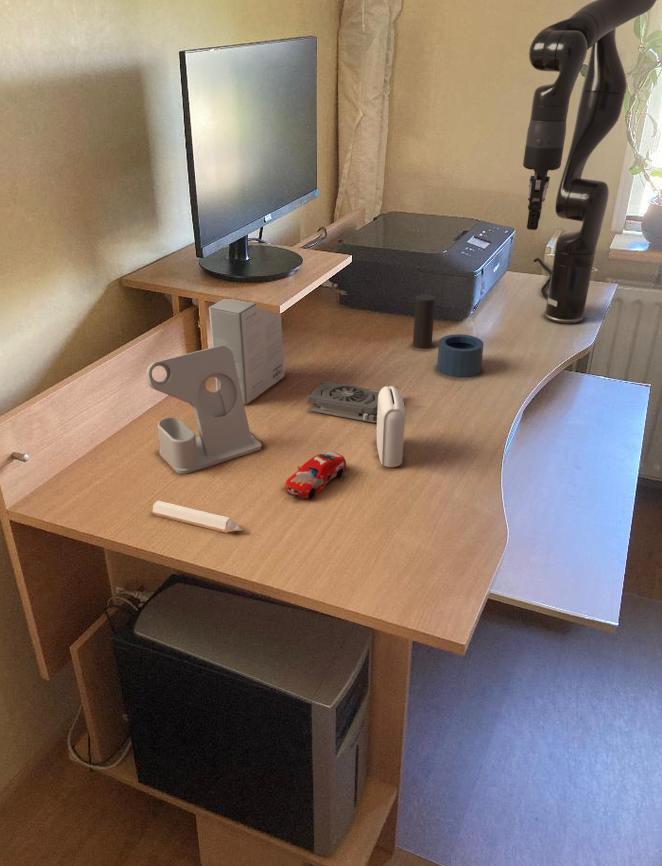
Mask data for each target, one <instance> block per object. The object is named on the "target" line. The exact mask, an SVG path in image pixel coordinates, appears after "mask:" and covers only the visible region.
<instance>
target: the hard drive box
mask: <svg viewBox="0 0 662 866" xmlns="http://www.w3.org/2000/svg"><path fill="white" fill-rule="evenodd" d="M276 291H277V290H276ZM256 306H257V305H256V303H254V302H246V301H240V300H235V299H225V298H223V299H221V300H219V301H217V302H216V303H214V304H212V305H210V306H209V307H208V313H209V323H210V334H211V343H212V345H211V346H212V347H216V346H225V347H227V348H229V349H230V350H231V352H232V354H233V357H234V362H235V366H236V371H237V375H238V380H239V384H240V389H241V393H242V398H243V402H244V406H245V405H248V404H249V403H250V402H252V401H254V400H255V399H257V398H258V397H259V396H260V395H262V394H264V392H266V391H267V390H268V389H269V388H270V389H271V387H272V386H275V384H277V383H278V382H279V381H281V380H282V379H284V377H285V366H284V365H285V364H284V345H283V343H284V342H283V324H282V312H281V313H280V314H276V313H272V312H269V311H264V310H259V309H258V308H257V307H256ZM214 378H215V387H216V391H217V390H218V389H219V387H220V382H219V380H218V379H217V378H216V377H214Z"/></svg>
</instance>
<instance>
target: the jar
mask: <svg viewBox="0 0 662 866" xmlns="http://www.w3.org/2000/svg"><path fill="white" fill-rule="evenodd" d="M484 345H485V344H484V341H483V340H482V339H481V338H479V337H477V336H474V335H471V334H470V335H469V334H462V333H461V334H457V333H455V334H448V335H445V336H443V337H441V338H440V339H439V340H438V350H437V359H436V360H437V362H436V369H437V371H438V372H439V373H440V374H442V375H443V376H446V377H451V378H458V379H464V378H472V377H475V376H477V375H479V373H480V372H481V370H482V362H483V354H484Z"/></svg>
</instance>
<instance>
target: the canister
mask: <svg viewBox="0 0 662 866" xmlns="http://www.w3.org/2000/svg"><path fill="white" fill-rule="evenodd" d="M435 310H436V296H435V295H433V294H429V293H420V294H417V295H415V305H414V321H413V335H412V347H414V348H416V349H419V350H426V349H427V350H428V349H431V347H432V345H433V333H434V323H435V322H434V321H435Z"/></svg>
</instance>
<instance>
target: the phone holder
mask: <svg viewBox="0 0 662 866" xmlns="http://www.w3.org/2000/svg"><path fill="white" fill-rule="evenodd" d="M156 367H162V368H163V369H164V370H165V378H164V379H163V380H162V381H158V380H156V379H154V377H153V370H154V369H155V368H156ZM145 376H146V380H147V384H148V386H149V387H150V388H151V389H153V390H155V391H157V392H160V393H163V394H165V395H168V396H170V397H173V398H175V399H176V400H180V401H182V402H185V403H187V404H189V405H190V406H191V407H192V409H193V413H194V417H195V422H196V425H197V429H198V434H199V435H196V433H195V431H194V430H192V429H191V427H189V426H188V425H187V424H186V423H185V422H184V421H183V420H181V419H180V418H177V417H166V418H163V419H161V420H160V421H159V422H157V433H158V440H159V449H158V450H159V451H158V452H159V456H161V458H162V459H163V460H164V461H165V462H166V463H167V465H169V466H170V467H171V468H172V469H173V470H174V471H175V473H177V474H180V475H186V474H190V473H192V472H196V471H199V470H202V469H205V468H209V467H211V466H214V465H217V464H220V463H221V464H222V463H225V462H227V461H229V460H233V459H236V458H240V457H243V456H246V455H249V454H251V453H256V452H258V451H260V450H261V449H262V443H261V441H259V439H257V438H256V437H254V436H253V435H252V434H251V430H250V426H249V421H248V416H247V412H246V408H245V405H244V402H243V398H242V393H241V389H240V384H239V380H238V375H237V371H236V366H235V362H234V357H233V354H232V352H231V350H230V349H229V348H227V347H225V346H216V347H213V346H212V347H209V348H205V349H201V350H196V351H193V352H188V353H185V354H181V355H177V356H173V357H169V358H168V357H167V358H165V359H161V360H157V361H153V362H151V363H150V364H148V366H147V368H146V372H145ZM212 377H213V378H215V377H216V378H217V379H218V380H219V382H220V387H219V389H218V390H217V389H216V391H213V392H212V391H210V390H208V389H207V387H206V381H208V380H209V379H210V378H212ZM216 378H215V379H216Z"/></svg>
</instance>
